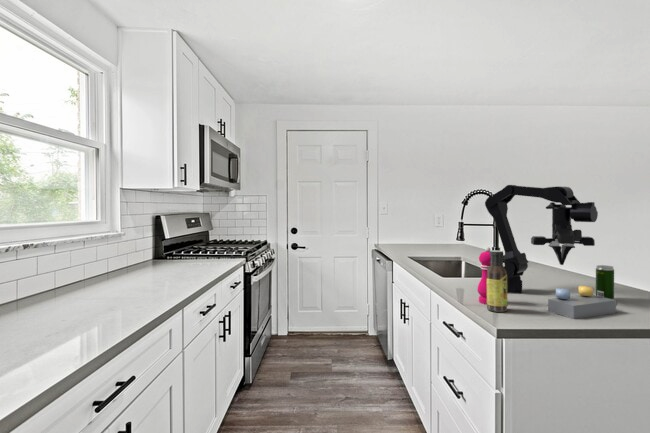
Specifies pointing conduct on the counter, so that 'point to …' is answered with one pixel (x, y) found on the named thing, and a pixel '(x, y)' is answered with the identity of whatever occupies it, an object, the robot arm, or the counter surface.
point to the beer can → (605, 281)
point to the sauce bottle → (496, 283)
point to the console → (582, 306)
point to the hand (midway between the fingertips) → (561, 264)
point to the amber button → (586, 291)
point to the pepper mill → (484, 275)
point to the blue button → (563, 293)
